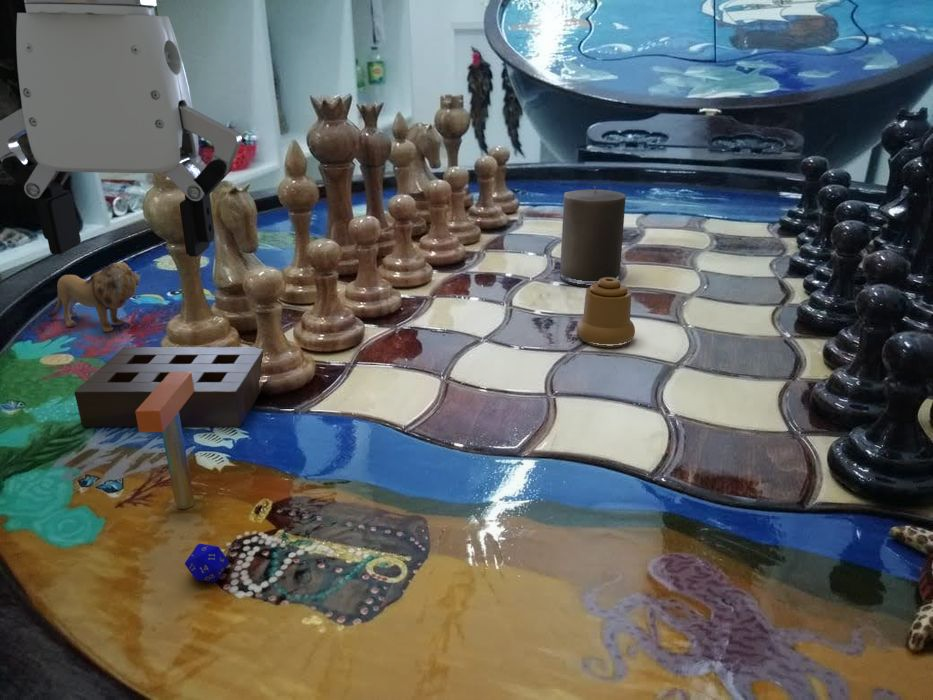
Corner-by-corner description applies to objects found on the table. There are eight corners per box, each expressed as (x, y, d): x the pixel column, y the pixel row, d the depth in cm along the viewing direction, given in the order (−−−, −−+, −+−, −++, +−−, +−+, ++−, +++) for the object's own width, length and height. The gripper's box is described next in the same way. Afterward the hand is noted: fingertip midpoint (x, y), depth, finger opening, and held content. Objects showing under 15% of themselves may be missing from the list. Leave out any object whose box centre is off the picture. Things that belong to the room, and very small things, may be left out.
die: (237, 576, 54) (219, 566, 51) (203, 593, 53) (184, 583, 51) (228, 543, 55) (210, 531, 52) (195, 559, 55) (176, 548, 52)
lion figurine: (154, 321, 102) (143, 258, 98) (131, 335, 97) (118, 269, 93) (60, 314, 104) (46, 252, 101) (33, 327, 99) (17, 263, 96)
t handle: (158, 530, 58) (134, 411, 54) (188, 481, 65) (169, 371, 61) (181, 530, 58) (159, 411, 54) (209, 481, 65) (191, 371, 61)
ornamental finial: (633, 330, 98) (634, 351, 92) (578, 326, 100) (574, 347, 93) (639, 273, 95) (640, 290, 89) (581, 269, 97) (577, 287, 90)
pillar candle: (614, 290, 114) (622, 194, 108) (553, 284, 117) (557, 189, 111) (623, 273, 123) (631, 182, 117) (565, 267, 125) (570, 179, 120)
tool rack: (240, 427, 74) (235, 391, 72) (82, 427, 74) (73, 391, 72) (268, 378, 84) (264, 346, 83) (129, 379, 84) (123, 347, 83)
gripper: (240, -5, 50) (264, 239, 57) (-12, -9, 50) (41, 235, 57) (205, -11, 43) (236, 267, 50) (-89, -16, 43) (-17, 263, 50)
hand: (132, 250), depth 54 cm, fingers open, 9 cm apart
